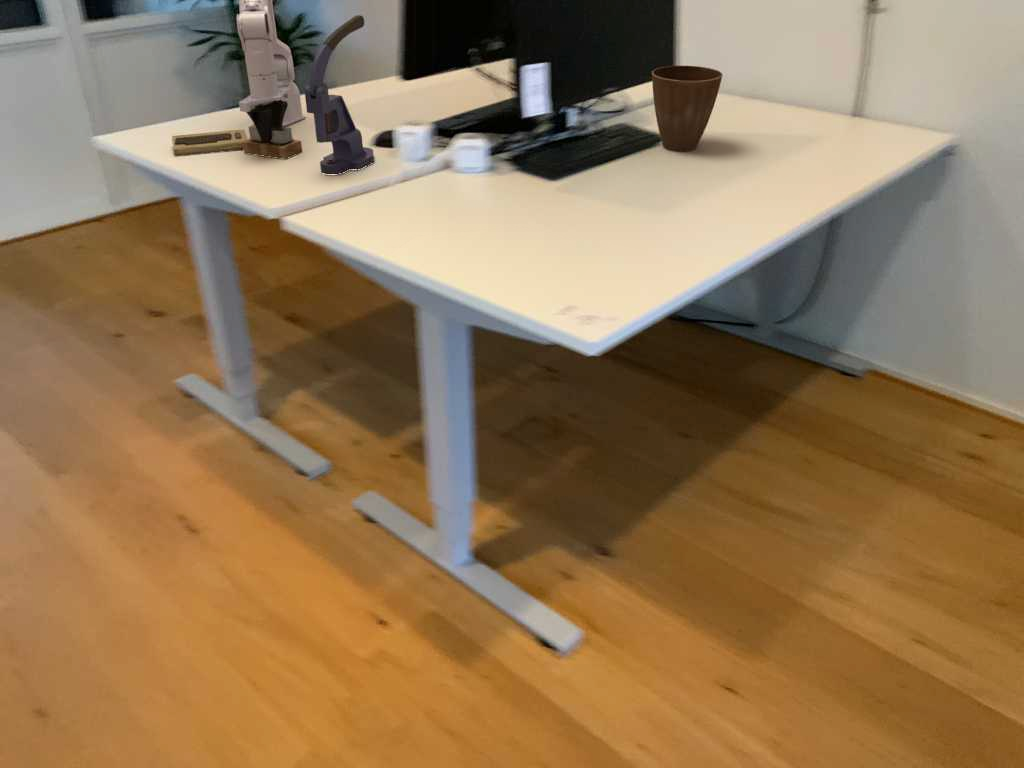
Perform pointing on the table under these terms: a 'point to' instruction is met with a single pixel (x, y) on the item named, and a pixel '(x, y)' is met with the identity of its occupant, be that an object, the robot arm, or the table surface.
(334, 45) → the hand press
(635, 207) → the table surface
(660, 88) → the plant pot
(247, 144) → the rectangular frame with crossbar
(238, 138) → the beige retro keyboard
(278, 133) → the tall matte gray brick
